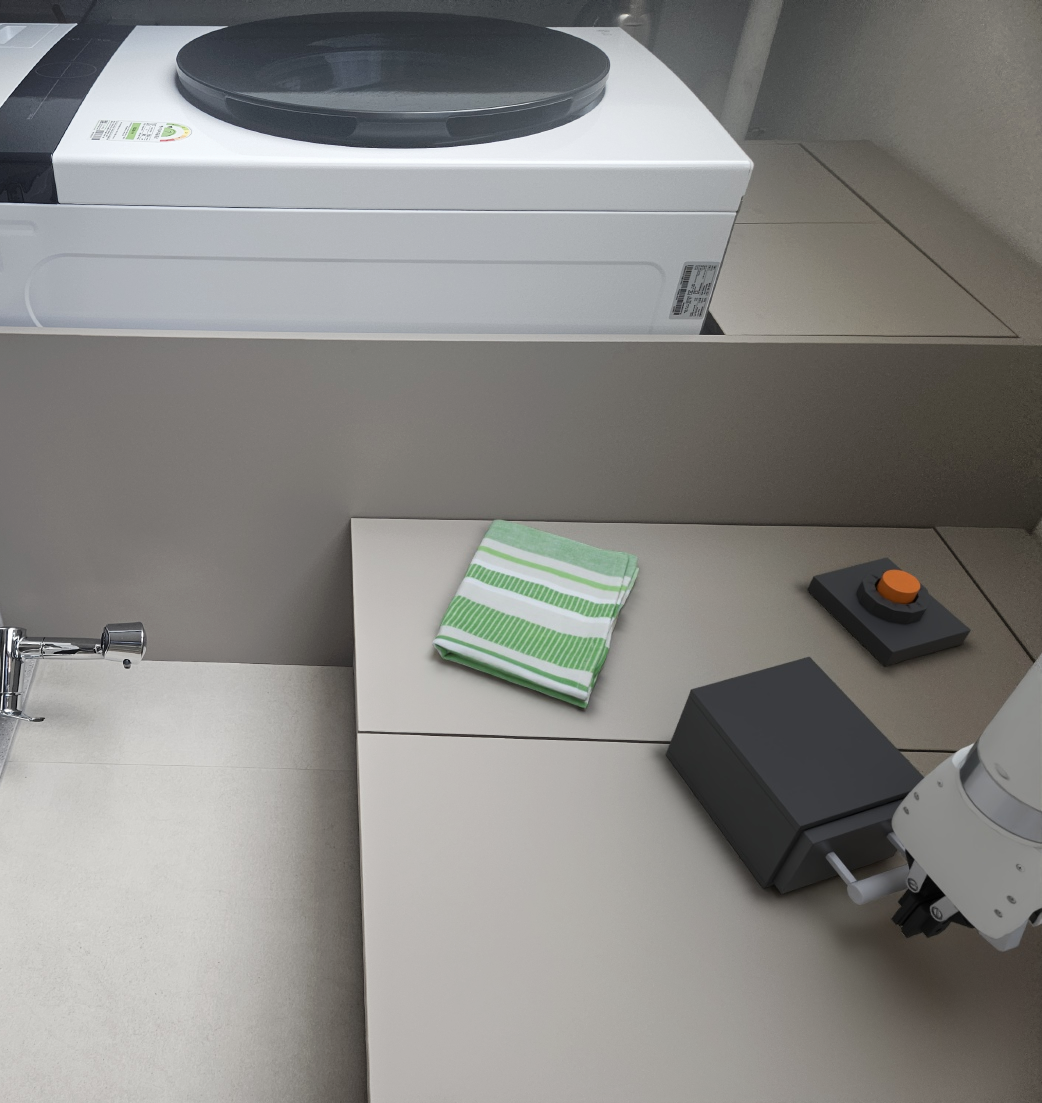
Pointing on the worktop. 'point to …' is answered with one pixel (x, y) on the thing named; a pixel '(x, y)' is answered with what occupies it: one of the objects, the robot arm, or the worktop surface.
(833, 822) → the dark grey drawer
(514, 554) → the dish towel
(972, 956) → the worktop surface
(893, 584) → the button
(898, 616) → the control block
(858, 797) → the dark grey drawer box
